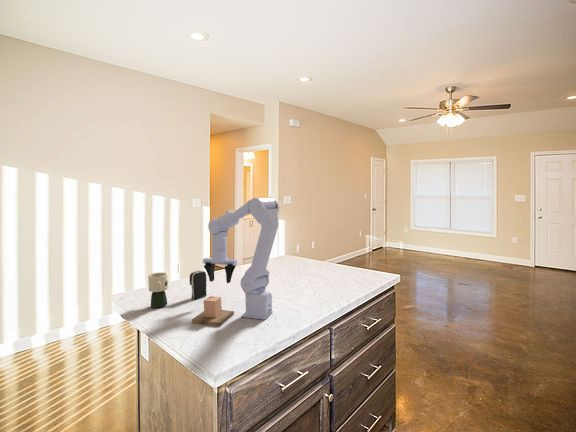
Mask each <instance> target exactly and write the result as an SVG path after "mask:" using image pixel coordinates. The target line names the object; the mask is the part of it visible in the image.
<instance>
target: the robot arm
mask: <svg viewBox="0 0 576 432" xmlns="http://www.w3.org/2000/svg"><path fill="white" fill-rule="evenodd" d="M280 208H281V207H280V205H279V203H278V201H277V199H275V198H274V197H272V196H269V197H253V198H251V199H249V200H247V201H246V203H244V204H243V205H241V206H240V207H239V208H238V209H236V210H230V209H229V210H226V211H225V213H224V214H223V215H219V216H218V217H217V218H212V219H211V220H209V221H208V224H207V225H208V231H209V233H210V234H211V251H212V252H211V253H212V254H211V255H212V256H211V257H204V258H202V264H203V268H204V270H205V271H206V274H207V276H208V278H209V282H210V283H212V282H214V281H215V267H216V265H225V266H224V271H225V277H226V279H225V281H226V284H230V283H231V281H232V277H233V273H234V272H235V271H234V270H235V268H236V267H237V265H238V260H237V259H232V258H228V251H227V250H228V249H227V245H228V244H227V237H228V233H229V232H228V231H229V230H230V229H231V228H233V227H234V226H236V225H238V224H239V222H240V219H243V218H245V217H247V216H248V215H252V217H253V219H255V221H257V224H259V225H260V227H261V229H260V232H259V235H258V238H257V239H258V240H257V243H256V247H255V250H254V254H253V258H252V260H251V265H250V266H249V267H248V268H247V269H246V271H244V274H243V276H242V277H241V280H240V287H241V290H242V291H243V293H244V294H245V299H244V300H245V312H244V313H242V314H241V317H242V318H249V319H256V320H266V319H268V318H269V316H270V315H271V314H273V312H274V310H273V298H272V297H273V296H272V293H271V292H270V291H269V292H268V291H266V290H267V287H268V285H269V283H270V279H269V277H270V271H269V270H268V269H267V265H268V263H269V260H270V256H271V252H272V249H273V245H274V242H275V239H276V235H277V232H278V228H279V211H280Z"/></svg>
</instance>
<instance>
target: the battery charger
mask: <svg viewBox="0 0 576 432" xmlns="http://www.w3.org/2000/svg"><path fill="white" fill-rule="evenodd" d="M189 285H190V286H191V296H190V297H191V299H192V300H198V299H202V298H204V297H207V295H208V294H207V272H205V270H197V271H196V270H195V271H194V272H191V273H190V274H189Z"/></svg>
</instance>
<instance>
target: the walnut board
mask: <svg viewBox="0 0 576 432" xmlns="http://www.w3.org/2000/svg"><path fill="white" fill-rule="evenodd" d="M234 315H235V311H234V310H227V309H222V313H221V314H220V315H219V316H217V317H216V318H213V317H205V316H204V310H203V311H202V312H200V313H199V314H197V315H196V316H194V317H192V319H191V324H194V325H203V326H214V327H222V326H223V325H224V324H225V323H227V321H229V320H230V318H232V317H233V316H234Z"/></svg>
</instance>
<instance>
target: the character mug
mask: <svg viewBox="0 0 576 432" xmlns="http://www.w3.org/2000/svg"><path fill="white" fill-rule="evenodd" d="M147 281H148V291H149V292H151V297H150V307H152V308H156V307H157V308H160V307H165V306H167V305H168V299H167V293H166V291H167V290H168V289H169V288H168V287H169V284H168V283H169V282H168V272H154V273H150V274H148V280H147Z"/></svg>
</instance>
